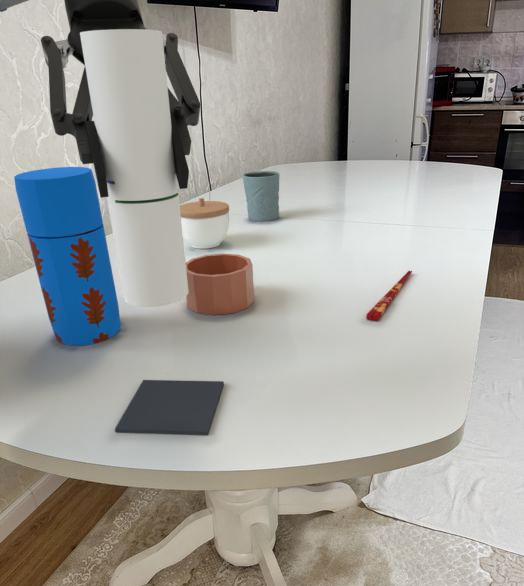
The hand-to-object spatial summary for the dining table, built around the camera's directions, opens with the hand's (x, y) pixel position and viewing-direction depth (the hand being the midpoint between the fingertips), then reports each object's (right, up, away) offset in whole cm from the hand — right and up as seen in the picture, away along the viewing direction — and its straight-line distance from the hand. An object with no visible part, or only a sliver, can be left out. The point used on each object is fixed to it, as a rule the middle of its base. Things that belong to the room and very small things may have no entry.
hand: (144, 184), depth 50 cm
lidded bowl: (-3, +10, +78) cm, 78 cm away
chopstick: (+35, -6, +45) cm, 57 cm away
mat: (0, -23, +16) cm, 28 cm away
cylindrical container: (-1, -10, +9) cm, 13 cm away
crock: (+4, -7, +46) cm, 46 cm away
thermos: (-17, -13, +37) cm, 43 cm away
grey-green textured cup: (+11, +22, +99) cm, 102 cm away
